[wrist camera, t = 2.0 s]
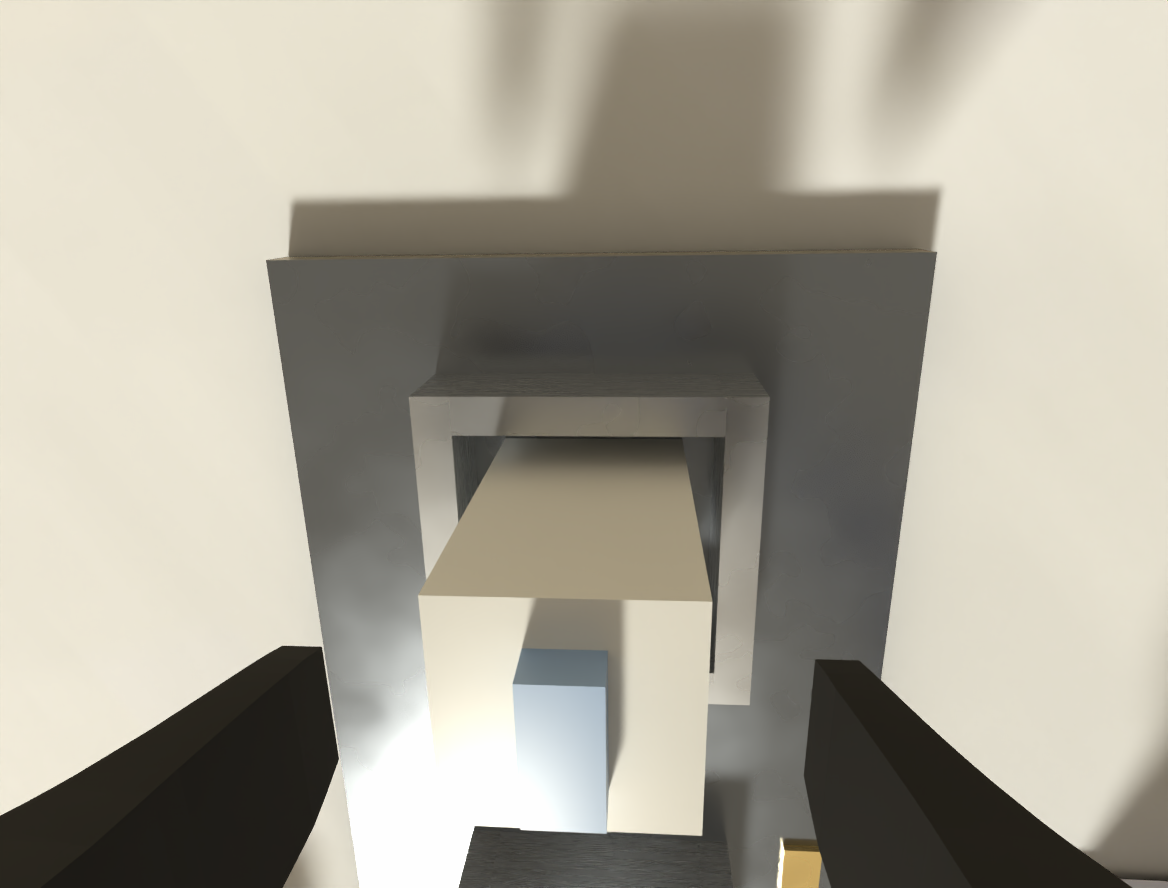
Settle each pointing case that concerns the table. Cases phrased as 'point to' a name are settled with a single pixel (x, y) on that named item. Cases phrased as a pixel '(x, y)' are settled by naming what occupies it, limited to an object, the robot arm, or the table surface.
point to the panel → (605, 411)
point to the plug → (572, 643)
